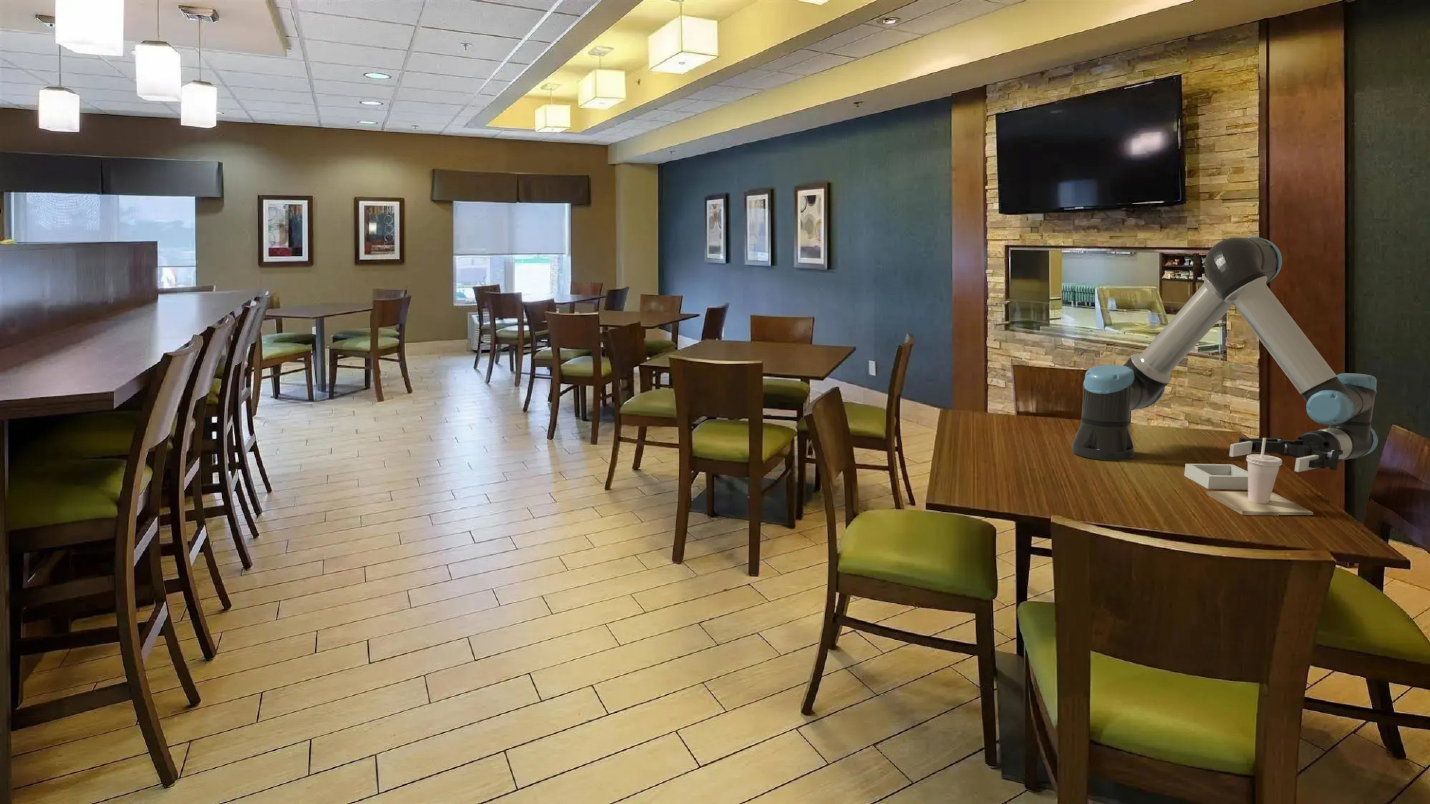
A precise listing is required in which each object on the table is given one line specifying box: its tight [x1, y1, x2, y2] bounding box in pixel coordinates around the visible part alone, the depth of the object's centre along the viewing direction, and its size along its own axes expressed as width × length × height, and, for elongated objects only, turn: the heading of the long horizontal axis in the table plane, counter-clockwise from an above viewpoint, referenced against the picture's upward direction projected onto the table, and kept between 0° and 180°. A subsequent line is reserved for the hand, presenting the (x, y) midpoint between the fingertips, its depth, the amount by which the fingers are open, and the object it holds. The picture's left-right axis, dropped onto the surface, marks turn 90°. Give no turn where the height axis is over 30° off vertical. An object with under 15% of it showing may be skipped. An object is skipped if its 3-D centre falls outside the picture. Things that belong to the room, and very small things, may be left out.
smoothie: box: [1245, 437, 1283, 504], centre depth 174 cm, size 6×6×14 cm
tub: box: [1183, 463, 1248, 491], centre depth 191 cm, size 11×11×3 cm
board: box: [1206, 490, 1314, 516], centre depth 175 cm, size 14×14×1 cm
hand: (1263, 457), depth 173 cm, fingers open, 13 cm apart
